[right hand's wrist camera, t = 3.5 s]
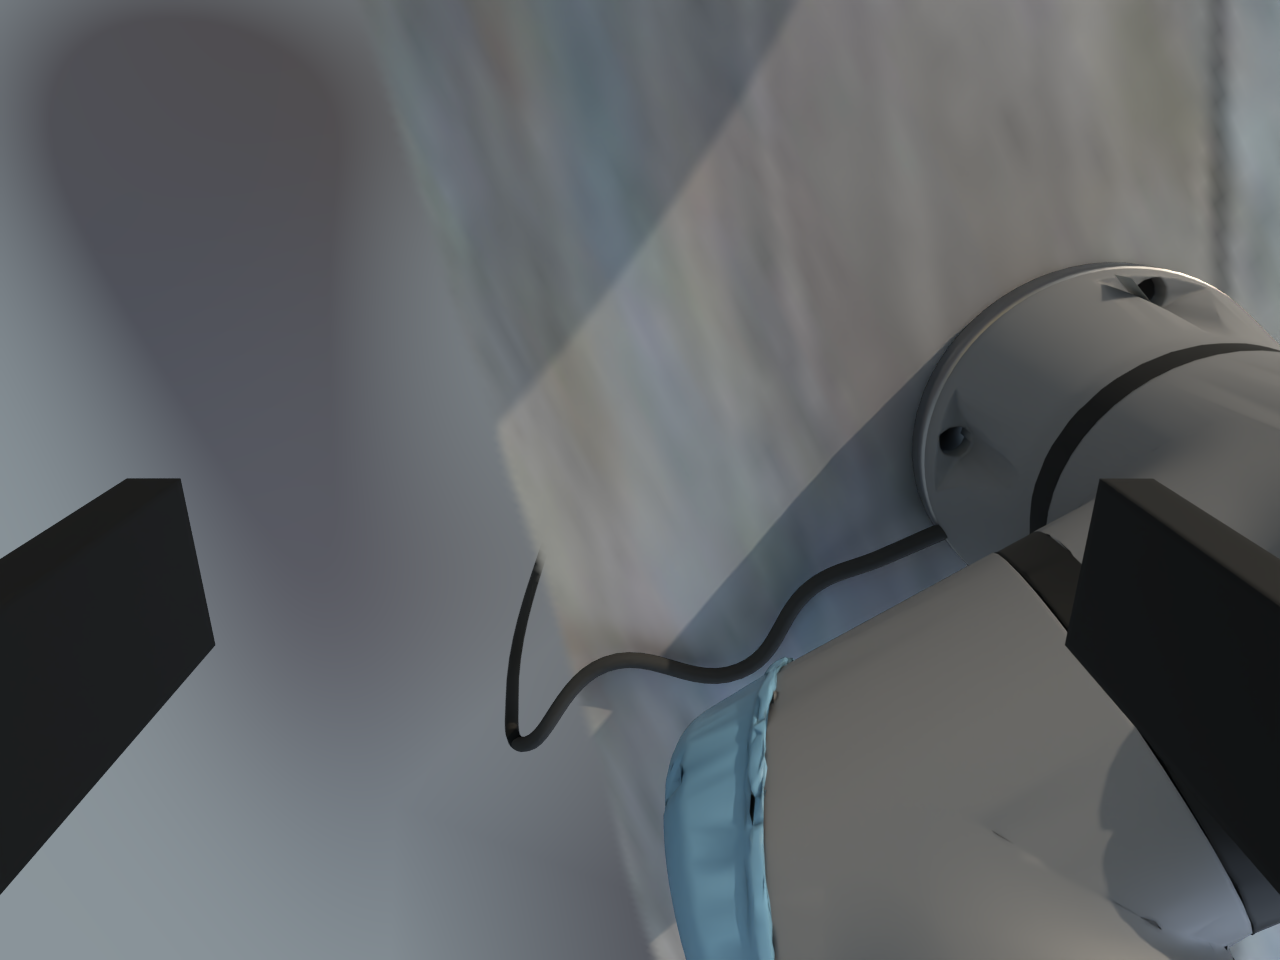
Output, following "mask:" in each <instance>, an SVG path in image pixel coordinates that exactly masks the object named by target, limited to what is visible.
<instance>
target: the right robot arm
mask: <svg viewBox="0 0 1280 960" xmlns="http://www.w3.org/2000/svg"><path fill="white" fill-rule="evenodd" d="M912 458H913V470H914V476H915V481H916V486H917V489H918V492H919V495H920V498H921V501H922V503H923V505H924V508H925V510H926V512H927V514H928V516H929V517H930V519H931V521H932V523H933V524H934V526H932V527H929V528H927V529H925V530H923V531H920V532H918V533H916V534H913V535H911V536H909V537H907V538H904V539H902V540H900V541H898V542H895V543H893V544H891V545H888V546H886V547H884V548H881V549H879V550H877V551H874V552H872V553H869V554H867V555H864V556H861V557H858V558H855V559H852V560H849V561H846V562H843V563H840V564H837V565H835V566H832V567H830V568H828V569H826V570H824V571H822V572H820V573H818V574H816V575H815V576H813V577H812V578H810V579H809V580H808V581H806V582H805V583H804V584H803V585H802V586H801V587H799V588H798V590H797V591H796V592H795V593H794V594H793V595H792V596H791V598H790V599H789V600H788V602H787V603H786V605H785V606H784V608H783V609H782V611H781V613H780V615H779V616H778V618H777V620H776V622H775V624H774V625H773V627H772V629H771V631H770V633H769V634H768V636H767V638H766V639H765V641H764V642H763V643H762V645H761V646H760V647H759V648H758V650H756V651H755V652H754V653H753V654H752V655H751V656H749V657H748V658H747V659H745V660H743V661H741V662H739V663H737V664H734V665H731V666H728V667H722V668H703V667H697V666H692V665H688V664H684V663H681V662H677V661H674V660H670V659H667V658H663V657H659V656H655V655H650V654H645V653H633V652H627V653H616V654H613V655H609V656H605V657H602V658H600V659H598V660H596V661H594V662H592V663H590V664H589V665H587V666H586V667H584V668H583V669H582V670H581V671H579V672H578V673H577V674H576V675H575V676H574V677H573V678H572V679H571V680H570V681H569V682H568V683H567V685H566V686H565V687H564V688H563V690H562V691H561V692H560V694H559V695H558V696H557V698H556V699H555V701H554V702H553V704H552V705H551V707H550V708H549V710H548V711H547V713H546V715H545V716H544V718H543V719H542V721H541V722H540V724H539V725H538V726H537V727H536V729H535V730H534V731H533V732H532V733H530V734H529V735H527V736H525V737H522V736H521V735H520V733H519V722H518V715H519V674H520V664H521V655H522V649H523V643H524V637H525V633H526V628H527V623H528V619H529V615H530V611H531V607H532V603H533V600H534V596H535V593H536V589H537V586H538V582H539V579H540V576H541V573H542V567H541V563H540V561H539V558H538V555H537V558H536V561H535V564H534V567H533V570H532V573H531V576H530V579H529V582H528V585H527V588H526V592H525V595H524V598H523V601H522V605H521V608H520V612H519V615H518V619H517V623H516V627H515V631H514V636H513V640H512V645H511V651H510V656H509V663H508V671H507V680H506V700H505V734H506V737H507V740H508V743H509V745H510V746H511V747H512V748H513V749H515V750H516V751H520V752H525V751H530V750H533V749H535V748H537V747H538V746H539V745H541V744H542V743H543V742H544V740H545V739H546V738H547V737H548V736H549V734H550V733H551V732H552V730H553V729H554V727H555V726H556V724H557V723H558V721H559V720H560V718H561V716H562V715H563V713H564V712H565V710H566V709H567V707H568V706H569V704H570V703H571V702H572V700H573V699H574V698H575V697H576V695H577V694H578V693H579V692H580V691H581V690H582V689H583V688H584V687H585V686H586V685H587V684H588V683H589V682H590V681H592V680H593V679H595V678H596V677H598V676H600V675H602V674H604V673H606V672H608V671H612V670H616V669H621V668H640V669H646V670H651V671H655V672H659V673H663V674H667V675H670V676H673V677H677V678H681V679H684V680H689V681H693V682H699V683H708V684H719V683H727V682H732V681H735V680H738V679H742V678H744V677H746V676H748V675H750V674H752V673H754V672H755V671H757V670H758V669H759V668H761V667H762V666H763V665H764V664H765V663H766V662H767V661H768V660H769V659H770V658H771V657H772V656H773V654H774V653H775V652H776V650H777V649H778V647H779V646H780V644H781V642H782V641H783V639H784V637H785V635H786V634H787V632H788V630H789V628H790V626H791V625H792V623H793V621H794V619H795V618H796V616H797V615H798V613H799V612H800V610H801V609H802V608H803V606H804V605H805V604H806V603H807V602H808V601H809V600H810V599H811V598H812V597H813V596H815V595H816V594H817V593H818V592H820V591H821V590H823V589H825V588H826V587H828V586H830V585H832V584H834V583H836V582H839V581H841V580H844V579H847V578H850V577H853V576H856V575H859V574H862V573H865V572H868V571H871V570H874V569H877V568H879V567H882V566H884V565H886V564H889V563H891V562H894V561H896V560H898V559H901V558H903V557H905V556H908V555H910V554H912V553H915V552H917V551H919V550H922V549H924V548H926V547H928V546H931V545H933V544H935V543H938V542H940V541H942V540H946V541H947V543H948V544H949V545H950V546H951V548H952V549H953V550H954V551H955V552H956V553H957V554H958V556H959V557H960V558H961V559H962V560H963V561H964V562H965V563H967V564H968V565H969V566H967V567H965V568H964V569H962V570H960V571H958V572H956V573H954V574H952V575H951V576H949V577H947V578H945V579H943V580H941V581H940V582H938V583H936V584H934V585H932V586H930V587H929V588H927V589H925V590H923V591H921V592H919V593H918V594H916V595H914V596H912V597H910V598H908V599H906V600H905V601H903V602H901V603H899V604H897V605H895V606H894V607H892V608H890V609H888V610H886V611H884V612H883V613H881V614H879V615H877V616H875V617H873V618H872V619H870V620H868V621H866V622H864V623H862V624H860V625H859V626H857V627H855V628H853V629H851V630H849V631H848V632H846V633H844V634H842V635H840V636H838V637H837V638H835V639H833V640H831V641H829V642H827V643H826V644H824V645H822V646H820V647H818V648H816V649H814V650H813V651H811V652H809V653H807V654H805V655H803V656H802V657H800V658H798V659H796V660H794V659H793V658H786V657H784V658H782V659H780V660H778V661H776V662H774V663H773V664H772V665H770V667H769V668H768V669H767V671H766V672H765V674H764V676H762V677H761V678H759V679H757V680H756V681H754V682H752V683H751V684H749V685H747V686H746V687H744V688H743V689H741V690H739V691H738V692H736V693H734V694H733V695H731V696H729V697H728V698H726V699H724V700H723V701H721V702H720V703H718V704H716V705H715V706H713V707H711V708H710V709H708V710H706V711H705V712H704V713H702V714H701V715H700V716H699V717H697V718H696V719H695V720H694V721H693V722H692V723H691V724H690V725H689V726H688V727H687V729H686V730H685V731H684V733H683V734H682V736H681V738H680V739H679V741H678V744H677V746H676V748H675V750H674V753H673V755H672V758H671V761H670V766H669V770H668V774H667V779H666V793H665V813H664V842H665V854H666V864H667V871H668V879H669V885H670V891H671V896H672V902H673V907H674V912H675V918H676V922H677V926H678V930H679V935H680V939H681V943H682V946H683V950H684V953H685V957H686V960H1234V958H1233V957H1232V954H1231V951H1230V949H1229V947H1231V946H1232V945H1234V944H1236V943H1237V942H1239V941H1241V940H1242V939H1244V938H1246V937H1247V936H1249V935H1254V934H1255V933H1257V932H1259V931H1262V930H1264V929H1266V928H1269V927H1271V926H1274V925H1276V924H1279V923H1280V345H1279V344H1278V343H1277V342H1276V341H1275V340H1274V339H1273V338H1272V337H1271V336H1270V335H1269V334H1268V333H1267V332H1266V331H1265V330H1264V329H1263V328H1262V327H1261V326H1260V325H1259V324H1258V323H1257V322H1256V321H1255V320H1254V319H1253V318H1252V317H1251V316H1250V315H1249V314H1248V313H1247V312H1246V311H1245V310H1244V309H1243V308H1242V307H1241V306H1240V305H1238V304H1237V303H1236V302H1235V301H1233V300H1232V299H1231V298H1230V297H1228V296H1227V295H1226V294H1224V293H1223V292H1221V291H1220V290H1218V289H1216V288H1215V287H1213V286H1212V285H1209V284H1207V283H1205V282H1203V281H1201V280H1199V279H1197V278H1194V277H1191V276H1188V275H1186V274H1183V273H1180V272H1175V271H1171V270H1166V269H1162V268H1156V267H1151V266H1146V265H1140V264H1131V263H1111V262H1106V263H1094V264H1086V265H1080V266H1075V267H1070V268H1066V269H1063V270H1059V271H1055V272H1052V273H1049V274H1047V275H1044V276H1042V277H1039V278H1036V279H1034V280H1032V281H1030V282H1028V283H1026V284H1024V285H1022V286H1020V287H1018V288H1016V289H1014V290H1013V291H1011V292H1009V293H1008V294H1006V295H1004V296H1003V297H1001V298H1000V299H999V300H997V301H996V302H994V303H993V304H992V305H990V306H989V307H987V308H986V309H985V310H984V311H983V312H982V313H980V314H979V315H978V316H977V317H976V318H975V319H973V320H972V321H971V323H970V324H969V325H968V326H967V327H966V328H965V329H964V330H963V331H962V332H961V333H960V334H959V335H958V336H957V338H956V339H955V340H954V341H953V342H952V344H951V345H950V346H949V347H948V349H947V350H946V352H945V353H944V355H943V356H942V358H941V359H940V361H939V362H938V364H937V366H936V368H935V369H934V371H933V373H932V375H931V377H930V379H929V381H928V383H927V386H926V388H925V390H924V392H923V395H922V398H921V401H920V404H919V407H918V411H917V416H916V420H915V425H914V433H913V445H912ZM214 646H215V641H214V636H213V632H212V627H211V622H210V617H209V613H208V608H207V603H206V598H205V593H204V589H203V584H202V579H201V574H200V569H199V565H198V560H197V555H196V550H195V546H194V541H193V536H192V531H191V526H190V522H189V517H188V512H187V507H186V503H185V498H184V493H183V488H182V483H181V479H125V480H124V481H122V482H121V483H119V484H117V485H116V486H114V487H113V488H111V489H110V490H108V491H106V492H105V493H103V494H102V495H100V496H99V497H97V498H95V499H94V500H92V501H91V502H89V503H88V504H86V505H84V506H83V507H81V508H80V509H78V510H77V511H75V512H74V513H72V514H70V515H69V516H67V517H66V518H64V519H62V520H61V521H59V522H58V523H56V524H55V525H53V526H51V527H50V528H48V529H47V530H45V531H44V532H42V533H40V534H39V535H37V536H36V537H34V538H33V539H31V540H29V541H28V542H26V543H25V544H23V545H22V546H20V547H18V548H17V549H15V550H14V551H12V552H11V553H9V554H7V555H6V556H4V557H3V558H1V559H0V894H1V893H2V892H3V891H4V890H5V889H6V887H7V886H8V885H9V884H10V883H11V882H12V880H13V879H14V878H15V877H16V876H17V875H18V873H19V872H20V871H21V870H22V869H23V868H24V867H25V865H26V864H27V863H28V862H29V861H30V860H31V858H32V857H33V856H34V855H35V854H36V853H37V851H38V850H39V849H40V848H41V847H42V846H43V844H44V843H45V842H46V841H47V840H48V839H49V838H50V836H51V835H52V834H53V833H54V832H55V831H56V829H57V828H58V827H59V826H60V825H61V824H62V822H63V821H64V820H65V819H66V818H67V817H68V815H69V814H70V813H71V812H72V811H73V810H74V808H75V807H76V806H77V805H78V804H79V803H80V802H81V800H82V799H83V798H84V797H85V796H86V795H87V793H88V792H89V791H90V790H91V789H92V788H93V786H94V785H95V784H96V783H97V782H98V781H99V779H100V778H101V777H102V776H103V775H104V774H105V772H106V771H107V770H108V769H109V768H110V767H111V766H112V764H113V763H114V762H115V761H116V760H117V759H118V757H119V756H120V755H121V754H122V753H123V752H124V750H125V749H126V748H127V747H128V746H129V745H130V744H131V742H132V741H133V740H134V739H135V738H136V737H137V735H138V734H139V733H140V732H141V731H142V730H143V728H144V727H145V726H146V725H147V724H148V723H149V721H150V720H151V719H152V718H153V717H154V716H155V714H156V713H157V712H158V711H159V710H160V709H161V708H162V706H163V705H164V704H165V703H166V702H167V700H168V699H169V698H170V697H171V696H172V695H173V693H174V692H175V691H176V690H177V689H178V688H179V687H180V685H181V684H182V683H183V682H184V681H185V680H186V678H187V677H188V676H189V675H190V674H191V673H192V672H193V670H194V669H195V668H196V667H197V666H198V664H199V663H200V662H201V661H202V660H203V659H204V658H205V656H206V655H207V654H208V653H209V652H210V651H211V649H212V648H213V647H214Z"/></svg>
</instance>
